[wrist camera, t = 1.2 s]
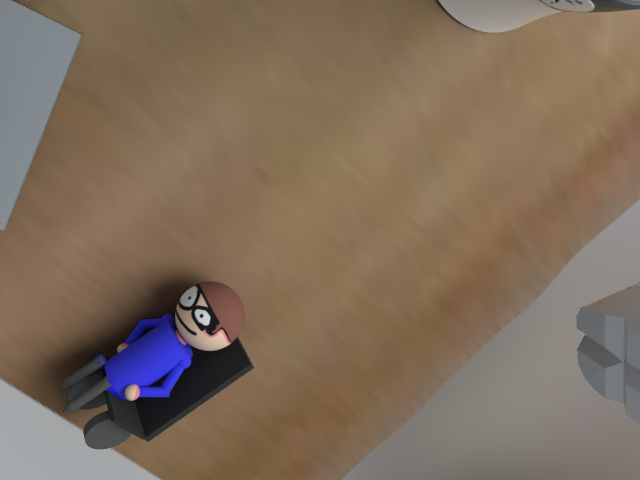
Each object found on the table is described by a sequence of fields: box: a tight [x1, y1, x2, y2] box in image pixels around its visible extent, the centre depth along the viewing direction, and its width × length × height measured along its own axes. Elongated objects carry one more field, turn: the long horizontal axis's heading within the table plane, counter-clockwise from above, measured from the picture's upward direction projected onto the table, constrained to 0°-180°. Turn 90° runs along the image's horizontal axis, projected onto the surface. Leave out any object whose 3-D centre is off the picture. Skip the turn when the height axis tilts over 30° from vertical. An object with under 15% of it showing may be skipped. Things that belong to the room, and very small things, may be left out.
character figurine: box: [60, 282, 254, 449], centre depth 42 cm, size 8×7×15 cm
